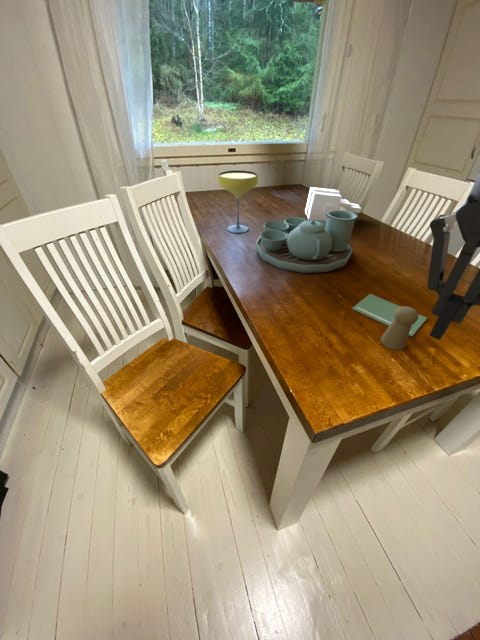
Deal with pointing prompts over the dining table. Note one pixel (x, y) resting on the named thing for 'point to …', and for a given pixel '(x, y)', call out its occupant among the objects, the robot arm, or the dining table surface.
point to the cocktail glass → (238, 190)
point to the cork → (399, 328)
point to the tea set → (308, 242)
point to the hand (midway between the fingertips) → (437, 333)
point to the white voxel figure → (326, 203)
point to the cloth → (383, 311)
